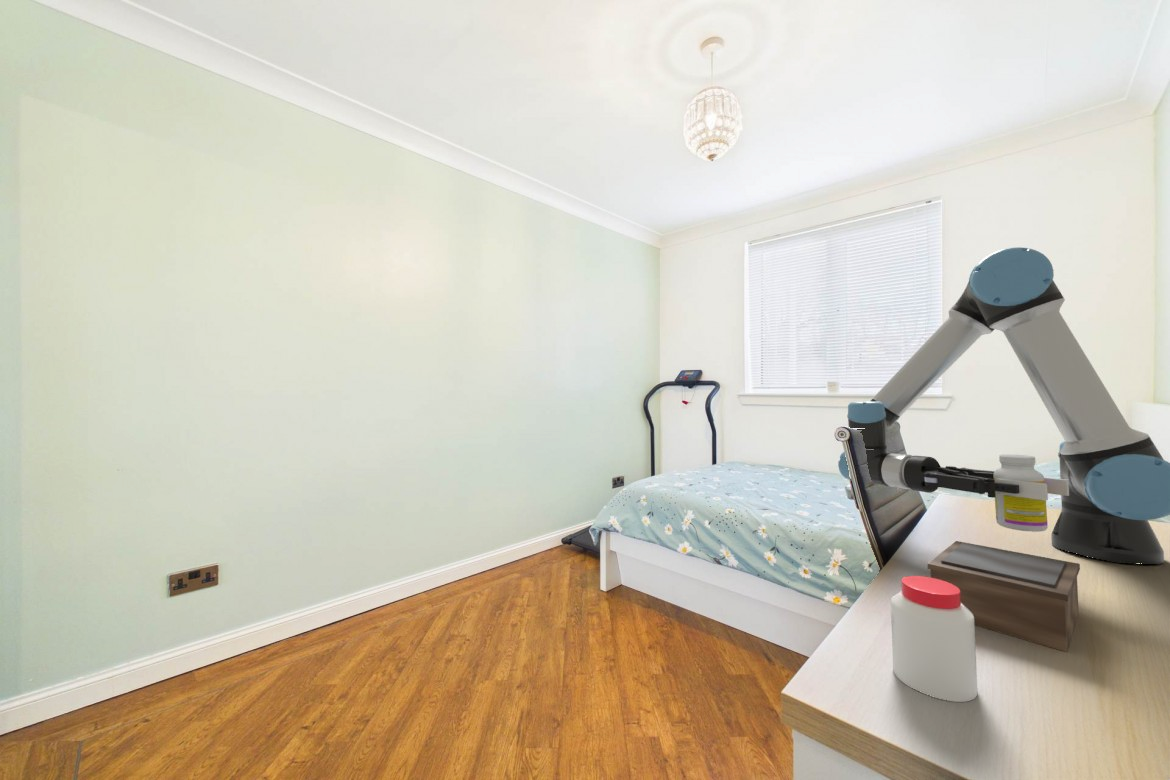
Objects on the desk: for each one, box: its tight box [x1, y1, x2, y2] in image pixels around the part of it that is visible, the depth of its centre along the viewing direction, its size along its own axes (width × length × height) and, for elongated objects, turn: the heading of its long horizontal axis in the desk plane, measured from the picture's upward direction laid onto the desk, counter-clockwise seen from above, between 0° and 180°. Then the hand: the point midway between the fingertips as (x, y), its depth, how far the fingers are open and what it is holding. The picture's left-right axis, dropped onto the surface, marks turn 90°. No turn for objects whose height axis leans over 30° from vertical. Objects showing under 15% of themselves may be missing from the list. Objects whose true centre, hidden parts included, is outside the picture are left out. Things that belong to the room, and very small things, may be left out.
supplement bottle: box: [993, 454, 1049, 533], centre depth 80 cm, size 7×7×13 cm
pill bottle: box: [890, 575, 978, 703], centre depth 52 cm, size 8×8×11 cm
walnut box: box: [927, 540, 1081, 653], centre depth 68 cm, size 17×15×8 cm
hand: (1056, 489), depth 76 cm, fingers closed on supplement bottle, 7 cm apart
